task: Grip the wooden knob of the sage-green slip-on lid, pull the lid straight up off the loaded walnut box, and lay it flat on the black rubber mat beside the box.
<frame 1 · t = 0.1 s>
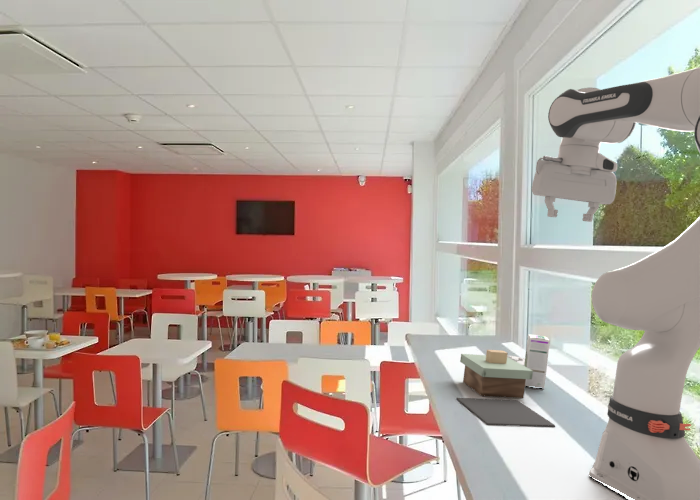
hand: (569, 219, 131), 48 cm above the table, fingers open, 8 cm apart
lid: (513, 374, 175), on the table
walnut box: (492, 389, 153), on the table
syrup box: (532, 386, 162), on the table
black mat: (503, 412, 135), on the table
green lid: (494, 370, 153), point 5 cm above the table, touching walnut box
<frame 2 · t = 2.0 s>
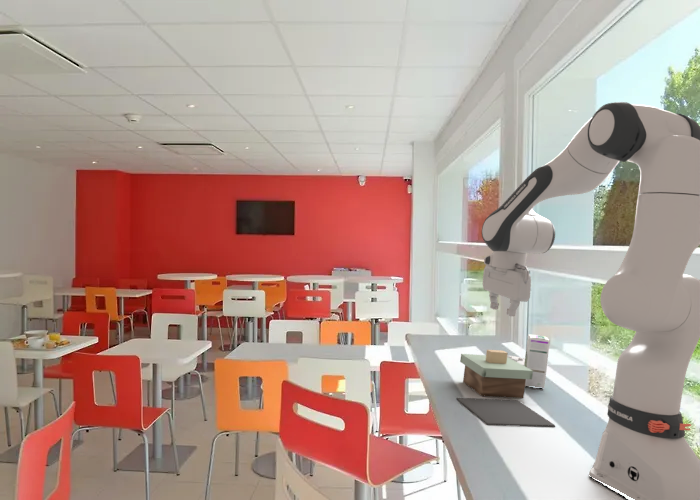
hand: (502, 312, 152), 22 cm above the table, fingers open, 8 cm apart
nothing on the table moved.
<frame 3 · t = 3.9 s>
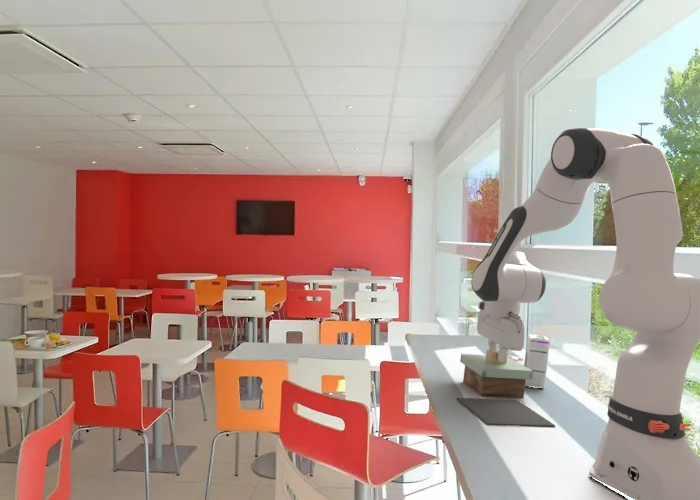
hand: (496, 358, 152), 9 cm above the table, fingers closed on green lid, 2 cm apart
green lid: (494, 370, 153), point 5 cm above the table, touching gripper, walnut box
everything else where it was.
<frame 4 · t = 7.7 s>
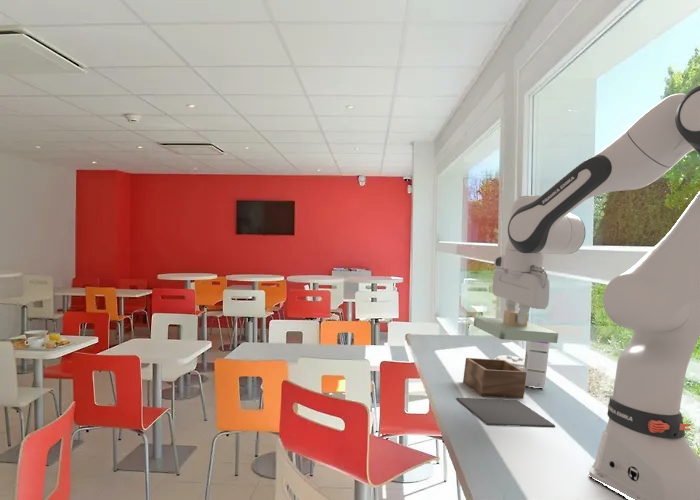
hand: (515, 321, 133), 22 cm above the table, fingers closed on green lid, 2 cm apart
green lid: (513, 334, 134), point 19 cm above the table, touching gripper
everything else where it was.
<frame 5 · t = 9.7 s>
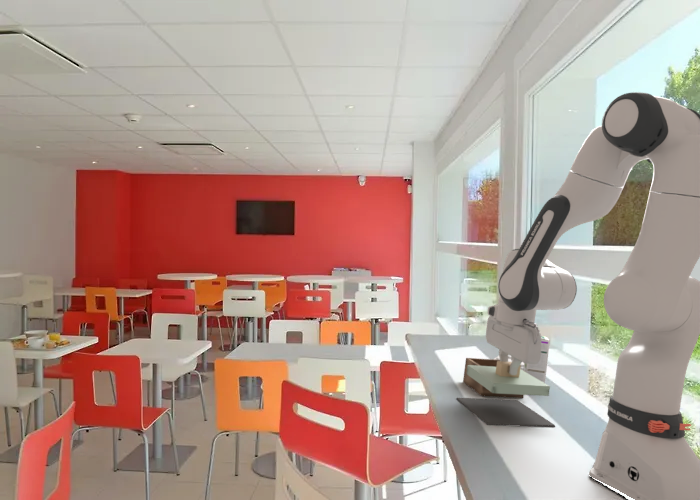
hand: (507, 371, 134), 10 cm above the table, fingers closed on green lid, 2 cm apart
green lid: (505, 384, 134), point 7 cm above the table, touching gripper
everything else where it was.
when the fingers open (5 cm above the table, at t = 11.4 s): green lid drops 1 cm, resting on black mat.
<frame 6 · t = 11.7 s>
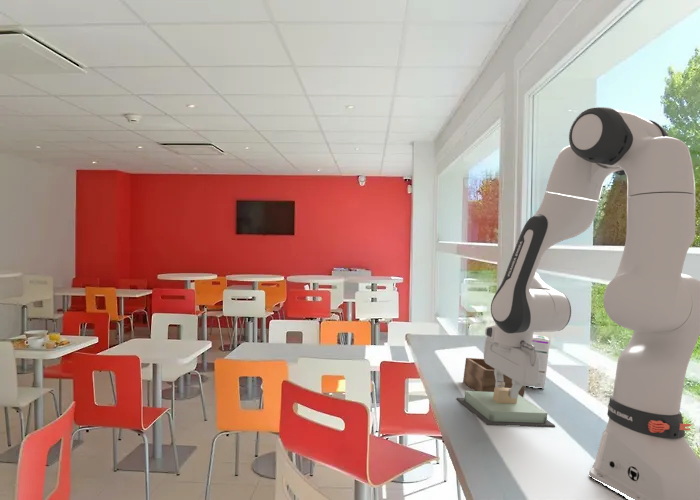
hand: (506, 393, 134), 5 cm above the table, fingers open, 5 cm apart
green lid: (503, 410, 135), resting on black mat
everything else where it was.
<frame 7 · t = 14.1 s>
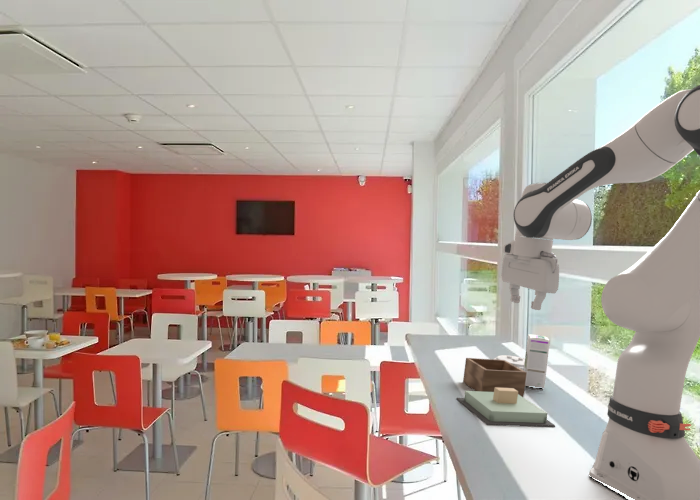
hand: (524, 305, 137), 26 cm above the table, fingers open, 8 cm apart
nothing on the table moved.
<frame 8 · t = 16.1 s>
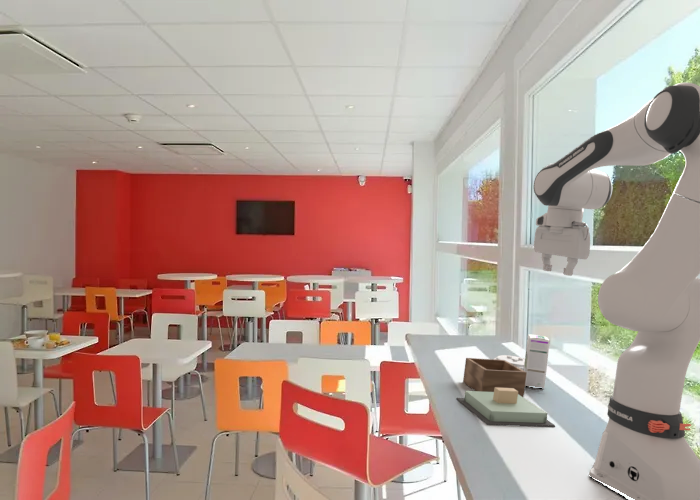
hand: (557, 273, 148), 34 cm above the table, fingers open, 8 cm apart
nothing on the table moved.
at the end: green lid 0.1 cm off-centre on the black mat, point 0.4 cm above the black mat's base; green lid tilted 0°; the gripper is holding nothing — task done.
